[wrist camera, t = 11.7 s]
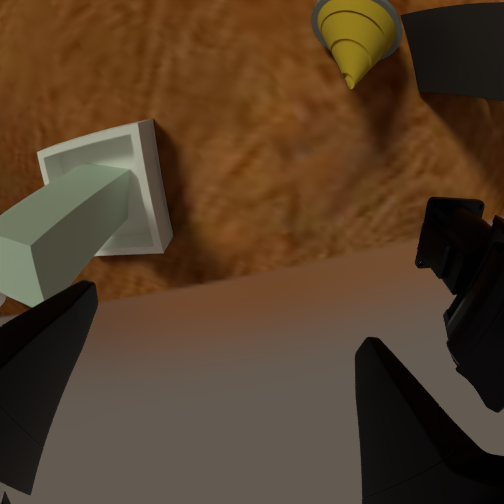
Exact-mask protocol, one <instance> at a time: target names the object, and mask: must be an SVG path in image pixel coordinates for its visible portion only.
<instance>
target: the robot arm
mask: <svg viewBox="0 0 504 504" xmlns="http://www.w3.org/2000/svg"><path fill="white" fill-rule="evenodd" d="M433 202H435V203H434V205H432V204H433ZM479 205H480V207H479ZM483 211H484V203H483V202H482V201H481V200H476V199H462V198H446V197H431V198H429V200H428V202H427V208H426V214H425V219H424V223H423V225H422V230H421V235H420V239H419V244H418V248H417V250H418V252H417V255H416V260H415V265H416V266H417V267H418V268H431V269H432V270H433V272H434V273H435V274H436V276H437V277H438V278H439V279H442V280H443V281H444V283H445V284H446V286H447V287H448V288H449V290H450V292H451V293H452V294H453V295H457V296H456V298H455V299H454V301H453V303H452V304H451V306H450V307H449V309H447V310H446V312H445V313H444V315H443V317H444V322H445V326H446V331H447V337H448V341H447V347H448V349H449V351H450V354H451V356H452V358H453V361H454V362H455V364H456V365H457V367H456V371H457V372H458V373H460V374H461V375H462V376H464V377H465V378H466V379H467V380H468V381H469V382H470V383H471V384H472V385H473V386H474V388H475V389H476V391H477V392H478V394H479V395H480V397H481V399H482V400H483V402H484V404H485V405H486V407H487V408H489V409H491V410H493V411H495V412H497V413H498V412H500V411H501V410H503V409H504V219H503V218H501V217H499V216H497V215H495V217H494V219H493V225H492V227H491V226H490V225H489V224H488V223H487V222H486V221H484V220H483V219H482V215H483ZM421 261H422V262H421ZM420 262H421V263H420ZM419 263H420V264H419ZM97 306H98V297H97V291H96V285H95V283H94V282H91V281H88V280H81V281H79V282H77V283H76V284H74V285H72V286H70V287H68V288H66V289H64V290H63V291H61V292H59V293H57V294H55V295H54V296H52V297H50V298H48V299H46V300H45V301H43V302H41V303H39V304H37V305H36V306H34V307H32V308H31V309H29V310H27V311H25V312H24V313H22V314H20V315H18V316H17V317H15V318H14V319H12V320H10V321H8V322H7V323H5V324H3V325H2V327H0V504H10V501H9V499H8V497H7V495H6V492H5V487H6V485H7V486H9V487H12V488H14V489H16V490H18V491H21V492H23V493H25V494H28V495H31V492H32V488H33V484H34V479H35V476H36V472H37V468H38V465H39V461H40V457H41V454H42V451H43V447H44V444H45V441H46V438H47V435H48V432H49V429H50V426H51V423H52V421H53V418H54V415H55V412H56V410H57V407H58V405H59V402H60V399H61V397H62V394H63V392H64V389H65V387H66V385H67V382H68V380H69V377H70V375H71V373H72V370H73V368H74V366H75V363H76V361H77V359H78V357H79V355H80V353H81V350H82V348H83V346H84V343H85V340H86V338H87V335H88V332H89V329H90V326H91V323H92V321H93V318H94V315H95V313H96V310H97ZM355 385H356V386H355V390H356V405H357V415H358V426H359V438H360V453H361V473H362V498H363V499H362V504H504V456H499V455H493V454H489V453H487V452H485V451H483V450H482V449H481V448H480V447H479V446H477V445H476V444H475V443H474V441H473V440H472V439H471V438H470V437H468V435H466V433H464V432H463V431H462V430H461V428H460V427H458V425H457V424H456V423H455V422H454V421H453V420H452V419H451V418H450V417H449V416H448V415H447V414H446V412H445V411H444V410H443V409H442V408H441V407H440V406H439V404H438V403H437V402H436V401H435V400H434V399H433V397H432V396H431V395H430V394H429V393H428V392H427V391H426V390H425V389H424V387H423V386H422V385H421V384H420V383H419V382H418V380H417V379H416V378H415V377H414V376H413V375H412V374H411V373H410V372H409V370H408V369H407V368H405V366H404V365H403V364H402V363H401V362H400V361H399V359H397V357H396V356H395V355H394V354H393V353H392V352H391V351H390V350H389V349H388V347H387V346H386V345H385V344H384V343H383V342H382V341H381V340H380V339H379V338H376V337H367V338H366V339H365V340H364V342H363V343H362V345H361V346H360V347H359V349H358V350H357V352H356V354H355Z"/></svg>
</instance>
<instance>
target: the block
mask: <svg viewBox="0 0 504 504" xmlns="http://www.w3.org/2000/svg"><path fill="white" fill-rule="evenodd" d="M129 177H130V169H125V168H119V167H112V166H105V165H97V164H90V163H85V164H83V165H81V166H79V167H77V168H76V169H74V170H72V171H70V172H68V173H66V174H65V175H63V176H61V177H59V178H58V179H56V180H54V181H52V182H51V183H49V184H47V185H46V186H44V187H42V188H41V189H39V190H37V191H36V192H34V193H33V194H31V195H30V196H28V197H26V198H25V199H23V200H22V201H20V202H19V203H17V204H16V205H14V206H13V207H12V208H10V209H9V210H7V211H6V212H4V213H3V214H2V215H0V292H1V293H3V294H5V295H7V296H9V297H11V298H13V299H15V300H17V301H19V302H22V303H24V304H26V305H28V306H30V307H34V306H36V305H37V304H39V303H41V302H43V301H45V300H46V299H48V298H50V297H52V296H54V295H55V294H57V293H59V292H61V291H63V290H64V289H66V288H68V287H69V286H70V285H71V283H72V282H73V281H74V280H75V278H76V277H77V276H78V275H79V273H80V272H81V271H82V270H83V268H84V267H85V266H86V265H87V264H88V262H89V261H90V260H91V259H92V258H93V257H94V255H95V254H96V253H97V252H98V251H99V250H100V248H101V247H102V246H103V245H104V244H105V243H106V242H107V240H108V239H109V238H110V237H111V236H112V235H113V234H114V233H115V232H116V231H117V229H118V228H119V227H120V226H121V225H122V224H123V223H124V222H125V221H126V220H127V219H128V196H129Z"/></svg>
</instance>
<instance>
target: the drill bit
mask: <svg viewBox="0 0 504 504" xmlns="http://www.w3.org/2000/svg"><path fill="white" fill-rule="evenodd" d="M311 23H312V28H313V31H314V33H315V35H316V37H317V38H318V40H319V41H320V42H321V43H322V44H323V45H324V46H325V47H326V48H327V49H329V50H330V51H331V53H332V55H333V57H334V59H335V61H336V63H337V65H338V66H339V68H340V70H341V72H342V75H343V76H344V77H346V78H344V79H345V81H346V83H347V85H348V87H349V89H352V88H354V86H355V85H356V84H357V83H358V82H359V81H360V80H361V79H362V78H363V77H364V76H365V75H366V73H367V72H368V71H369V70H370V69H371V68H372V67H373V66H374V65H375V64H376V63H377V62H378V61H379V60H382V59H385V58H387V57H388V56H390V55H392V54H393V53H394V52H395V51H396V50H397V48H398V47H399V45H400V43H401V40H402V27H401V23H400V19H399V16H398V14H397V12H396V10H395V9H394V7H393V6H392V5H391V4H390V3H389V2H388V1H387V0H318V1H317V3H316V4H315V7H314V9H313V13H312V18H311Z"/></svg>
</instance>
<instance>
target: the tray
mask: <svg viewBox="0 0 504 504" xmlns="http://www.w3.org/2000/svg"><path fill="white" fill-rule="evenodd" d="M37 154H38V159H39V163H40V168H41V172H42V176H43V180H44V184H45V186H46V185H47V184H49V183H51V182H52V181H54V180H56V179H58V178H59V177H61V176H63V175H65V174H66V173H68V172H70V171H72V170H74V169H76V168H77V167H79V166H81V165H83V164H85V163H90V164H97V165H105V166H112V167H119V168H125V169H130V177H129V196H128V219H127V220H126V221H125V222H124V223H123V224H122V225H121V226H120V227H119V228H118V229H117V231H116V232H115V233H114V234H113V235H112V236H111V237H110V238H109V239H108V240H107V242H106V243H105V244H104V245H103V246H102V247H101V248H100V250H99V251H98V252H97V253H96V254H95V255H94V256H105V255H131V254H157V253H164V252H165V250H166V248H167V246H168V245H169V243H170V241H171V239H172V238H173V231H172V227H171V222H170V217H169V212H168V207H167V202H166V197H165V191H164V186H163V180H162V175H161V169H160V163H159V157H158V150H157V144H156V137H155V130H154V123H153V119H149V120H144V121H140V122H135V123H130V124H126V125H122V126H118V127H114V128H110V129H106V130H102V131H98V132H95V133H91V134H88V135H84V136H81V137H78V138H74V139H71V140H68V141H65V142H62V143H59V144H56V145H54V146H51V147H49V148H46V149H44V150H41V151H39V152H37Z"/></svg>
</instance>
